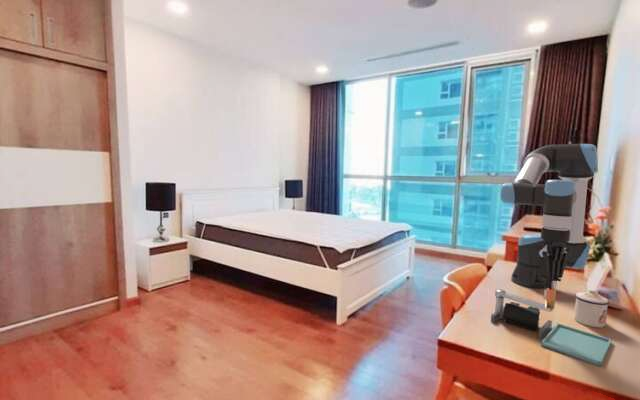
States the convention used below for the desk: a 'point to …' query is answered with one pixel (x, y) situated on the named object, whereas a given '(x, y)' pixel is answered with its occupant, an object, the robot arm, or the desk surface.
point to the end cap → (521, 315)
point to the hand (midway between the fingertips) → (549, 299)
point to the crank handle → (546, 307)
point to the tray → (577, 344)
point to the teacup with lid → (591, 309)
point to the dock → (499, 313)
